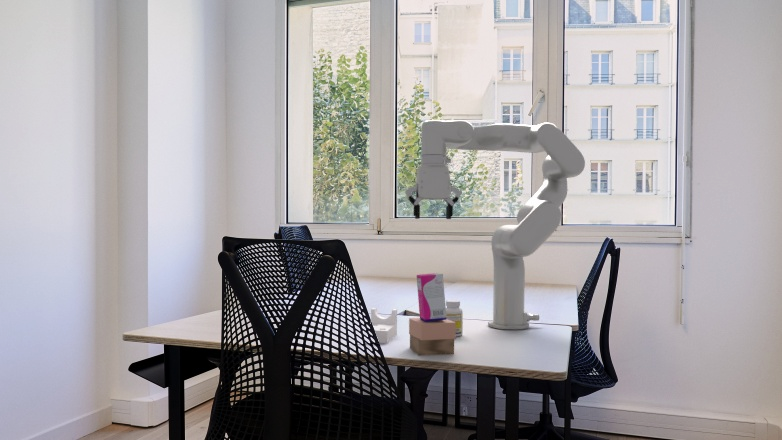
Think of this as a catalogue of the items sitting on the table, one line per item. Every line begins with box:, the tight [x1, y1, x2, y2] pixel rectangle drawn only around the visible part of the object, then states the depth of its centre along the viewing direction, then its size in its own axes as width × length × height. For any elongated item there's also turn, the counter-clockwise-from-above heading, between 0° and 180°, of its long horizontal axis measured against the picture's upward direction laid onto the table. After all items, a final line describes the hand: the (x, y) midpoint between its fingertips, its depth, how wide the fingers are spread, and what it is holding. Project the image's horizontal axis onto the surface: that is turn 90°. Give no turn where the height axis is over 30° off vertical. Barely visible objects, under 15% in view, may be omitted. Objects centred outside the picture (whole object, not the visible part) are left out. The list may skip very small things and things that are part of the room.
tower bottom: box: [409, 334, 455, 356], centre depth 153 cm, size 9×9×4 cm
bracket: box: [370, 307, 398, 344], centre depth 169 cm, size 13×7×8 cm, turn 168°
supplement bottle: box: [445, 299, 464, 337], centre depth 174 cm, size 5×5×10 cm
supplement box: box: [416, 272, 447, 322], centre depth 153 cm, size 6×6×12 cm
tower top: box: [408, 317, 457, 340], centre depth 153 cm, size 9×9×4 cm
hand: (433, 218), depth 183 cm, fingers open, 9 cm apart
